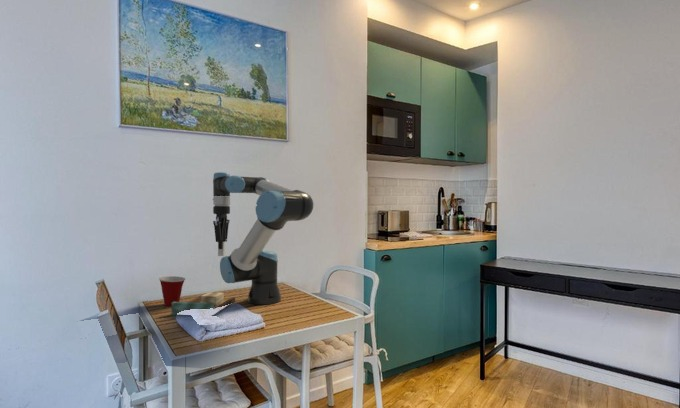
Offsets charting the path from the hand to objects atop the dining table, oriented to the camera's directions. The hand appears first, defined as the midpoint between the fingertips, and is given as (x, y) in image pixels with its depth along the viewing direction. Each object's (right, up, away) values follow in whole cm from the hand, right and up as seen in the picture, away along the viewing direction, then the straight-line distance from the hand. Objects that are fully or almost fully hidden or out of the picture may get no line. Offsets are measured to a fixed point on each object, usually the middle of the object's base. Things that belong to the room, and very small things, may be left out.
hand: (221, 255), depth 186 cm
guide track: (-2, -21, -15) cm, 25 cm away
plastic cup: (-19, -21, -10) cm, 30 cm away
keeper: (-1, -21, -9) cm, 22 cm away
